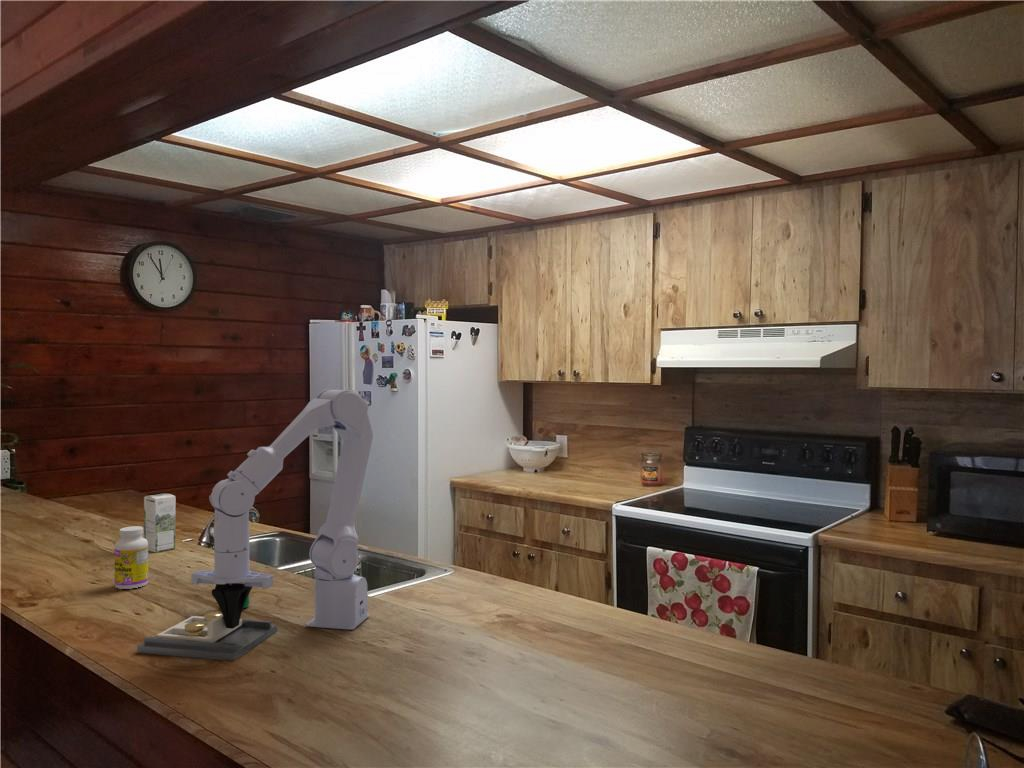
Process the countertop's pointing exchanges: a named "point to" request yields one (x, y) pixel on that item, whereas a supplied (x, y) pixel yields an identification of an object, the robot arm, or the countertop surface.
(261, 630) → the boss plate
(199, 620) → the panel
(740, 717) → the countertop surface
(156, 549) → the syrup box
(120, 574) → the supplement bottle
